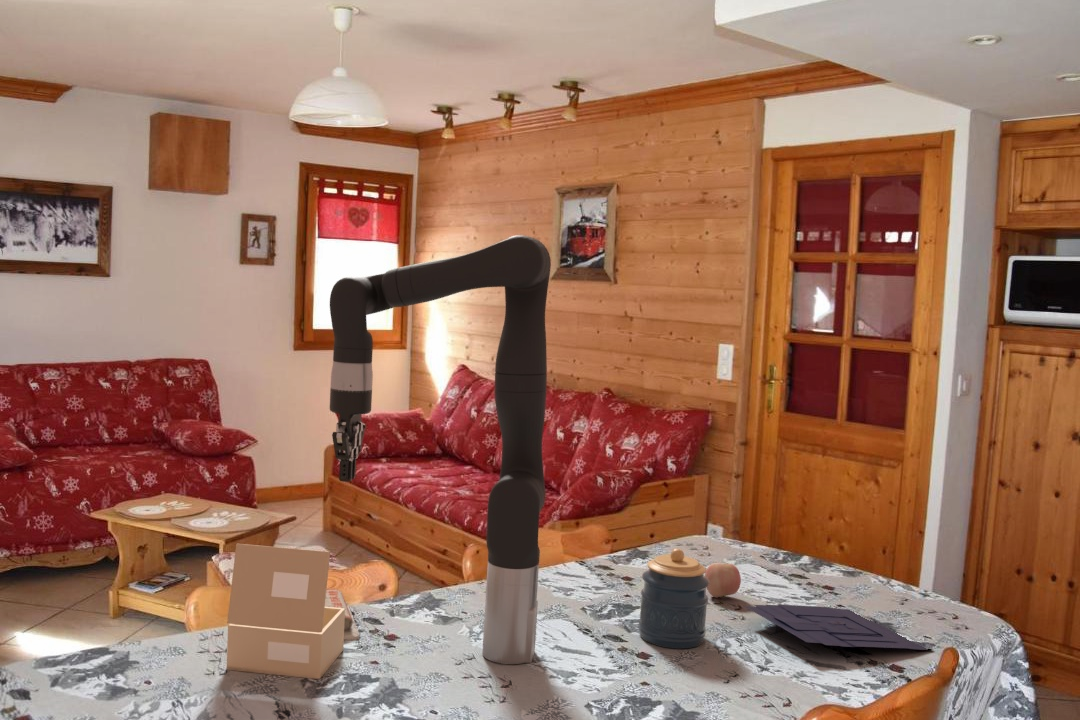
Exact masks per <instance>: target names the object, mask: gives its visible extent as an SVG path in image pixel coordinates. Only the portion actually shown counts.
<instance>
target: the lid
mask: <svg viewBox="0 0 1080 720" xmlns="http://www.w3.org/2000/svg"><path fill="white" fill-rule="evenodd" d="M330 558H331V551H325V550H315V549H302V548H292V547H281V546H280V547H279V546H267V545H259V544H257V545H256V544H248V543H245V544H244V543H236V545H235V551H234V562H233V568H232V578H231V585H230V596H229V602H228V603H229V604H228V612H227V621H226V624H228V625H229V624H239V625H250V626H260V627H270V628H281V629H291V630H302V631H312V632H322V627H323V617H324V608H325V599H326V589H328V588H327V587H328V579H329V569H330V560H331V559H330Z"/></svg>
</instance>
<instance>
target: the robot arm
mask: <svg viewBox="0 0 1080 720" xmlns="http://www.w3.org/2000/svg"><path fill="white" fill-rule="evenodd" d="M551 262H552V259H551V257H550V252H549V250H548V249H547V247H546V245H545V244H544V243H542V242H541V241H540V240H539V239H536V238H534V237H531V236H527V235H524V234H523V235H522V234H517V235H512V236H509V237H508V238H506V239H503V240H501V241H498V242H497V243H493V244H491V245H489V246H486V247H483V248H480V249H478V250H475V251H472V252H469V253H466V254H462V255H458V256H453V257H448V258H443V259H438V260H432V261H431V260H430V261H425V262H420V263H419V262H418V263H415V264H409V265H405V266H400V267H397V268H393V269H389V270H388V271H386V272H384V273H381V274H374V275H369V276H362V277H358V276H357V277H354V276H347V277H342V278H340V279H339V280H337V281H336V282H335V284H334V285H333V286H332V288H331V289H332V290H331V292H330V297H329V313H330V320H331V327H332V332H333V337H334V339H333V341H334V342H333V353H332V354H333V355H332V366H331V374H330V390H329V391H330V392H329V411H330V412H331V413H334V414H338V420H337V421H338V422H337V423H336V424H335V431H333V432H332V434H331V436H332V443H333V450H334V451H333V452H334V457H335V459H336V460H338V461H339V469H338V471H339V472H338V480H339V481H340V482H343V483H344V482H346V483H347V482H348V483H349V482H351V481H352V480H354V479H355V478H356V473H357V472H356V469H357V466H356V465H357V459H358V457H359V454H361V451H362V447H363V441H364V435H365V431H366V428H367V427H366V424H365V423H364V422H362V415H366V414H369V413H371V411H372V403H373V402H372V401H373V399H372V397H373V380H374V374H373V347H374V346H373V345H374V339H373V335H372V333H371V332H369V331H368V326H367V322H368V321H367V316H368V315H372V314H373V315H374V314H377V313H380V312H384V311H387V310H390V309H393V308H403V307H408V306H413V305H418V304H423V303H427V302H428V303H429V302H432V301H435V300H439V299H443V298H445V297H448V296H452V295H456V294H459V293H461V292H465V291H470V290H476V289H483V288H484V289H485V288H503V287H504V297H505V298H504V300H505V301H504V302H505V312H504V313H505V314H504V322H503V326H502V330H501V334H500V337H499V342H498V346H497V351H496V357H495V366H494V401H495V402H494V403H495V409H496V410H495V411H496V414H497V420H498V425H499V428H500V429H499V431H500V433H501V435H500V436H501V444H502V445H501V447H502V450H501V464H500V473H499V477H498V481H497V482H496V483H495V484H494V485H493V487H492V489H491V490H490V493H489V495H488V496H489V497H488V501H487V513H486V517H487V518H486V549H487V569H486V571H487V572H486V584H485V585H486V586H485V604H484V620H483V638H482V655H483V657H484V658H485V659H486V660H489V661H491V662H494V663H496V664H502V665H516V664H517V665H519V664H524V663H527V664H531V663H532V662H533V658H534V655H535V651H536V639H537V636H536V635H537V623H538V622H537V620H538V605H539V602H538V600H537V599H538V585H539V572H540V571H539V568H540V555H541V554H540V553H541V552H540V551H541V550H540V547H539V528H540V525H539V524H540V512H541V511H542V509H543V507H544V506H545V503H546V486H545V475H544V463H543V462H544V461H543V434H544V427H545V418H546V417H545V415H546V401H547V400H546V399H547V382H548V381H547V379H548V378H547V377H548V376H547V374H548V371H547V370H548V366H547V365H548V363H547V362H548V361H547V357H548V356H547V333H546V332H547V331H546V306H547V298H548V289H549V281H550V274H551Z"/></svg>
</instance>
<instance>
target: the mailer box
mask: <svg viewBox="0 0 1080 720" xmlns="http://www.w3.org/2000/svg"><path fill="white" fill-rule="evenodd" d="M344 621H345V608H334V607H325V608H324V617H323V627H322V632H312V631H302V630H291V629H281V628H270V627H260V626H250V625H239V624H229V623H228V625H227V642H226V643H227V647H226V649H227V650H226V668H225V669H227V671H234V672H235V671H237V672H245V673H247V672H248V673H255V674H256V673H257V674H258V673H259V674H267V675H277V676H284V677H285V676H286V677H296V678H306V679H307V678H308V679H316V680H320V679H322V677H323V676H324V675H325V673H326V672H327V671H328V670H329V669H330V667H331V666H332V665H333V664H334V662H335V661H336V660H337V658H338V657H339V656H340V655H341V654H342V652H343V651H344V642H345V640H344Z"/></svg>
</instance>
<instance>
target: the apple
mask: <svg viewBox="0 0 1080 720" xmlns="http://www.w3.org/2000/svg"><path fill="white" fill-rule="evenodd" d="M704 576H705V577H706V578H707V579H708V580H709V585H708V586H707V587H706V591H707V592H708V593H709V594H710V595H711V596H712V597H713V598H717V599H718V597H720V598H723V596H724V597H726V596H727V597H728V596H731V595H735V594H737V593H738V591H739V589H740V588H741V584H742V583H741V582H742V581H741V580H742V579H741V577H742V576H741V573H740V570H739V569H738V567H736V565H734V564H732V563H726V562H725V563H724V562H721V563H719V562H714V563H711V564H709V566H708V567H707V568H706V572H705V573H704Z"/></svg>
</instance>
